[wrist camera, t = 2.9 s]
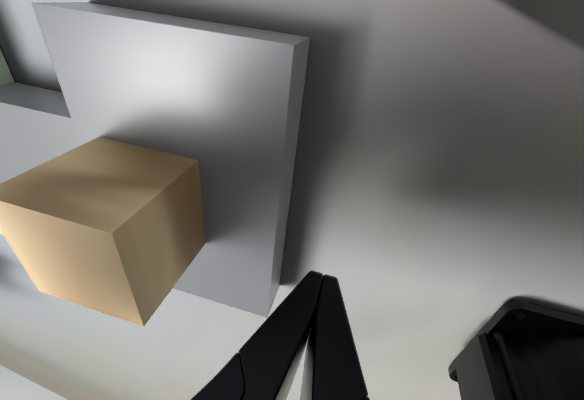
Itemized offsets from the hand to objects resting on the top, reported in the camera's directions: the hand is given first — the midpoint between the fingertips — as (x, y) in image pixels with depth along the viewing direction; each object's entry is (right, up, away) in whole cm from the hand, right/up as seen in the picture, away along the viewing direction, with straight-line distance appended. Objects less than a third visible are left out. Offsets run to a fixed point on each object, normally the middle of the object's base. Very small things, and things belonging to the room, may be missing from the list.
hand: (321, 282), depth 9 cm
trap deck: (-10, +5, +5) cm, 12 cm away
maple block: (-6, +3, +3) cm, 7 cm away
